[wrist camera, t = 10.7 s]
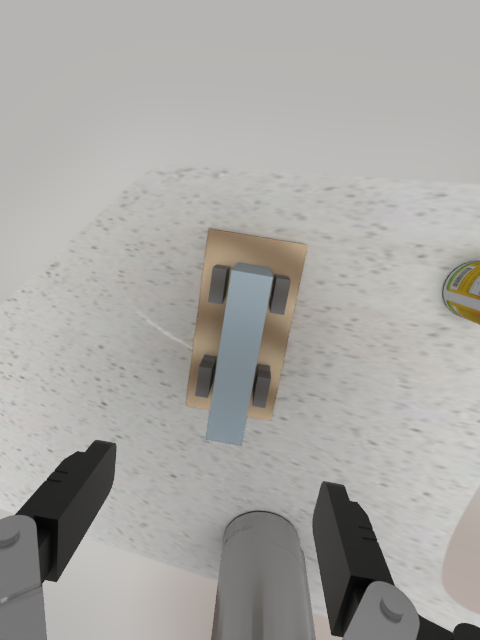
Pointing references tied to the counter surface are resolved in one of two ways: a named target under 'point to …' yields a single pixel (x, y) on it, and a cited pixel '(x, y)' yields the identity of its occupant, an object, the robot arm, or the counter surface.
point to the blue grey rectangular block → (238, 351)
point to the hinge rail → (285, 285)
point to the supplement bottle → (464, 291)
